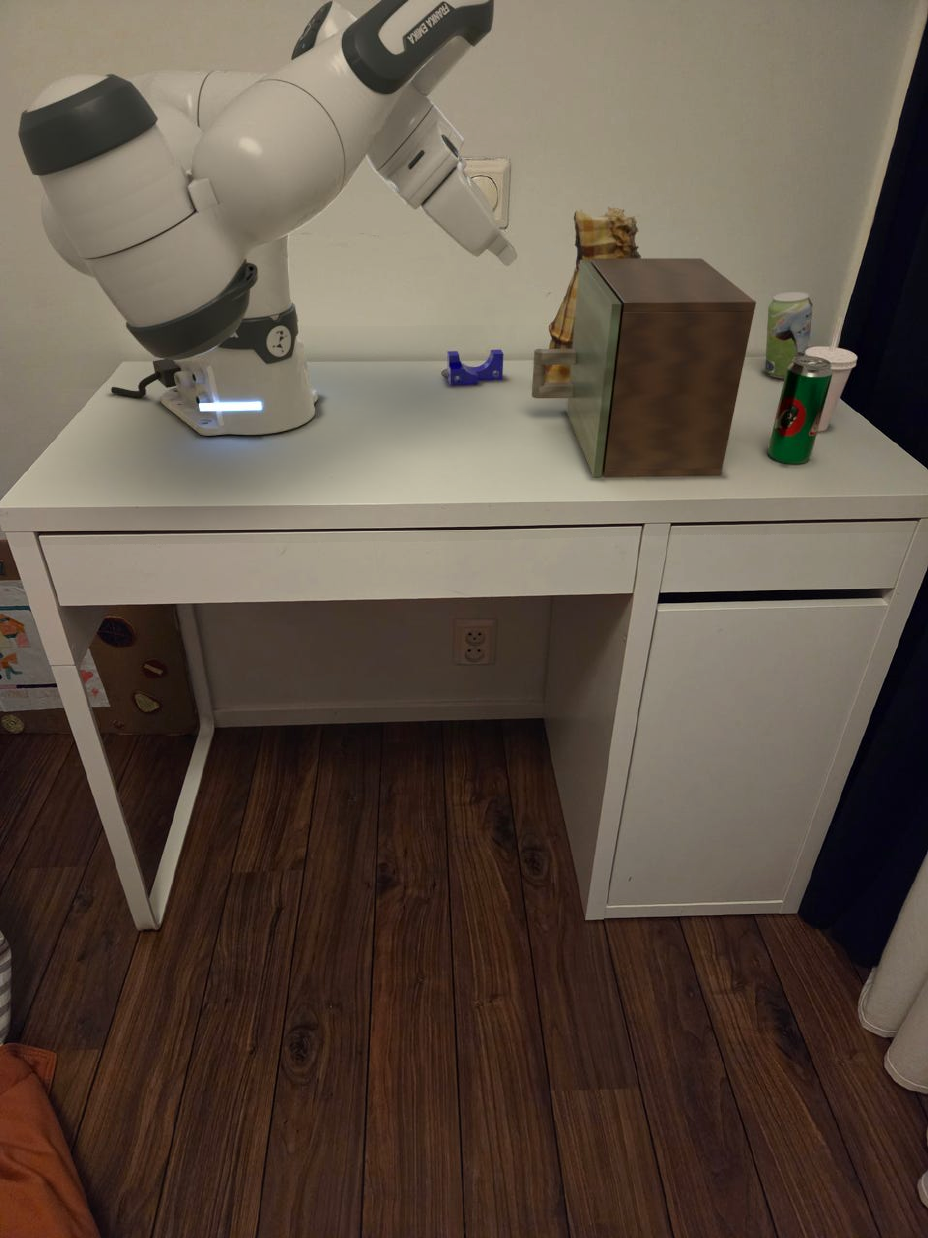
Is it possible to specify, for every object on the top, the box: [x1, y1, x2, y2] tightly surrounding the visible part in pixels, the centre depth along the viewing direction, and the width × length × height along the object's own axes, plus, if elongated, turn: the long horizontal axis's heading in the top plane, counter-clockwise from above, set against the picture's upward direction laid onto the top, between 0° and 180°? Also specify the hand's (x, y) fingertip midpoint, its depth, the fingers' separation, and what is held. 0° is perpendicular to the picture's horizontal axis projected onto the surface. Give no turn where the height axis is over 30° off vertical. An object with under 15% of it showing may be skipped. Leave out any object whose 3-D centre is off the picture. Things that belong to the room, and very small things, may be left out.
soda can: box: [767, 356, 833, 466], centre depth 101 cm, size 5×5×12 cm
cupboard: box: [590, 257, 757, 479], centre depth 102 cm, size 14×20×20 cm
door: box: [531, 260, 621, 478], centre depth 102 cm, size 6×20×20 cm, turn 3°
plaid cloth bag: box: [545, 206, 642, 382], centre depth 119 cm, size 14×14×25 cm
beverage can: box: [764, 291, 813, 380], centre depth 126 cm, size 6×7×12 cm
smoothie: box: [804, 316, 858, 433], centre depth 109 cm, size 6×6×14 cm
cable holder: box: [446, 348, 504, 387], centre depth 125 cm, size 8×4×4 cm, turn 99°
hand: (511, 258), depth 96 cm, fingers closed
